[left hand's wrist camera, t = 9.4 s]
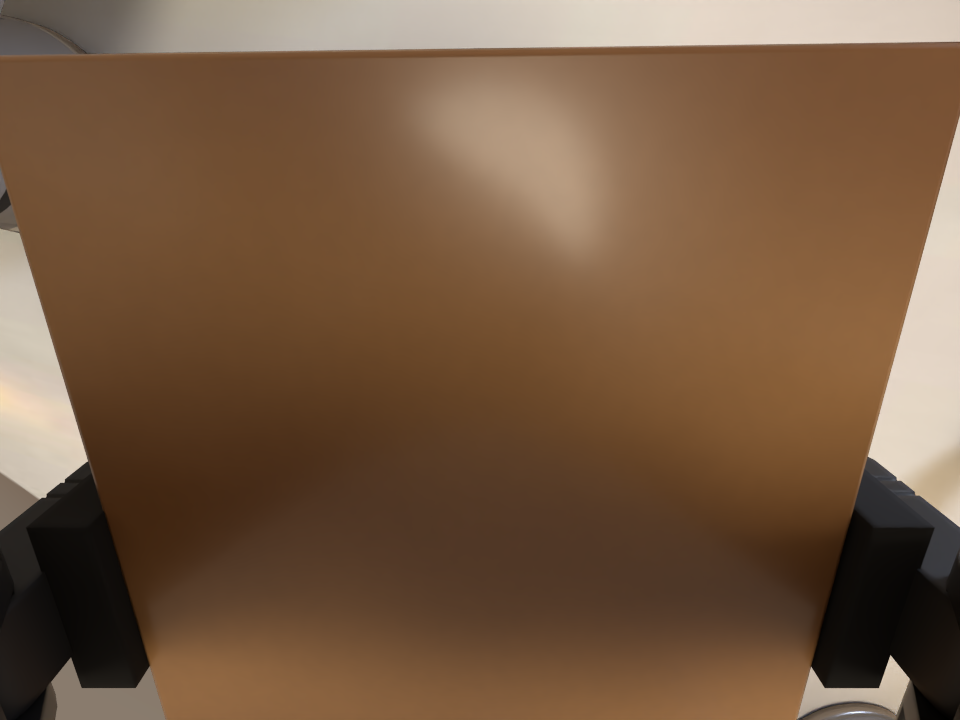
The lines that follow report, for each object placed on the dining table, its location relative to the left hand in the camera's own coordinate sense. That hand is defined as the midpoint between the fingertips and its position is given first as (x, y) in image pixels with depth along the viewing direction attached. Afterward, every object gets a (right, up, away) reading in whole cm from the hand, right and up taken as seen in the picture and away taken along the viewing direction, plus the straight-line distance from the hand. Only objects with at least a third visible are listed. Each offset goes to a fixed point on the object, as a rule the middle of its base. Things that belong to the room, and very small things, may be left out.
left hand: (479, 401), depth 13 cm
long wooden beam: (0, -22, +9) cm, 23 cm away
